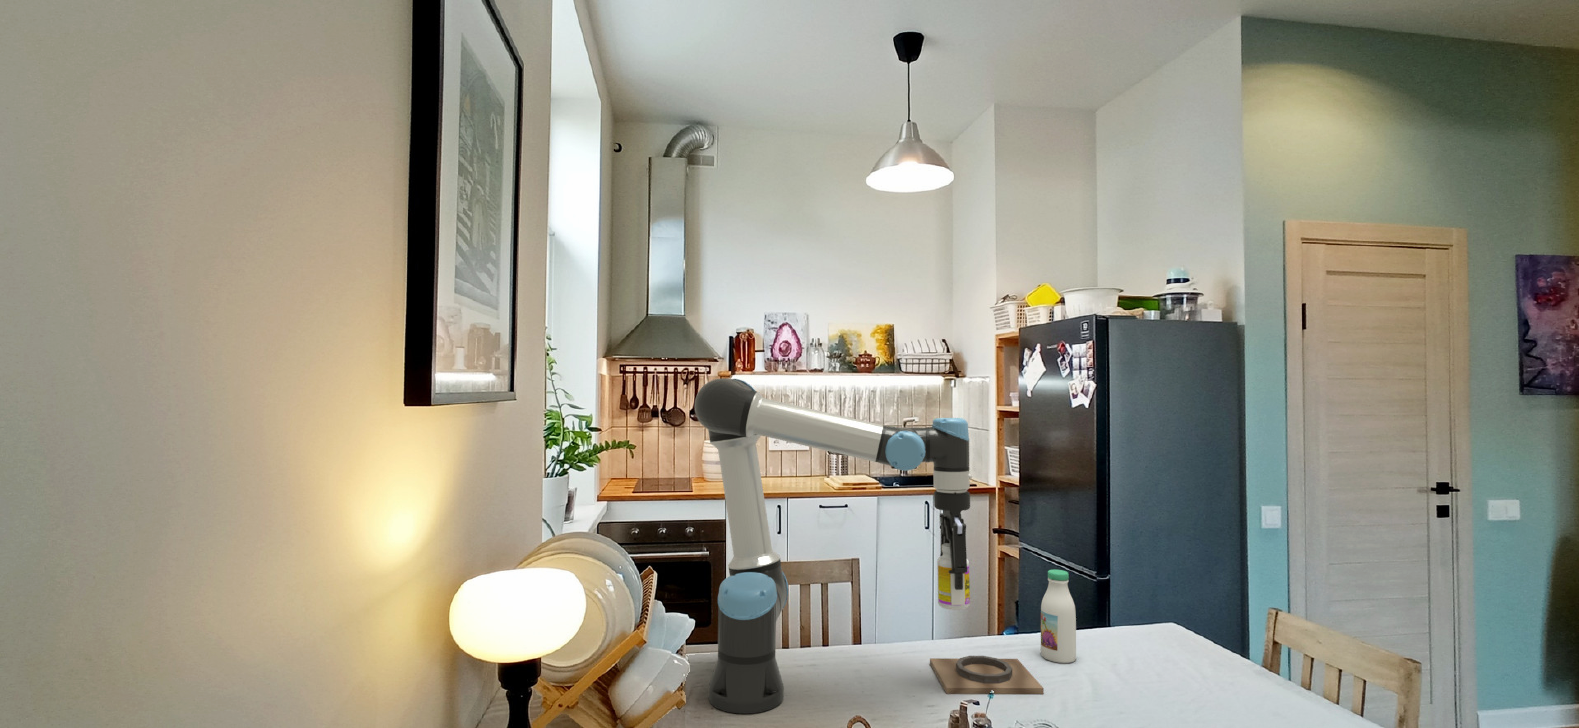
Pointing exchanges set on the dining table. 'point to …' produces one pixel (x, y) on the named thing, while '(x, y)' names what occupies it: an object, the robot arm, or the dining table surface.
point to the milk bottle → (1058, 620)
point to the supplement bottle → (949, 581)
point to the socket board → (981, 688)
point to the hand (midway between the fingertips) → (953, 599)
